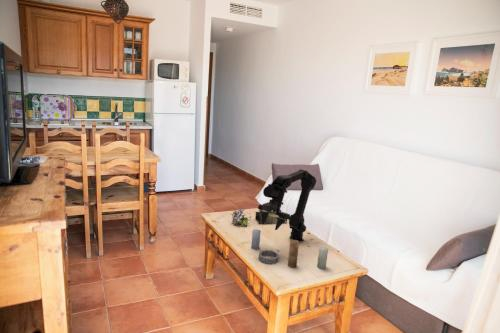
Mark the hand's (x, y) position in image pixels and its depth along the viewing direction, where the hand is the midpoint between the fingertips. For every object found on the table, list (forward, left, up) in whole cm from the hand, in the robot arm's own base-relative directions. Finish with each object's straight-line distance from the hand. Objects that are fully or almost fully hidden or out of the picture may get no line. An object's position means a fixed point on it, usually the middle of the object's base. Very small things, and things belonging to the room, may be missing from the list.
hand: (269, 227), depth 186 cm
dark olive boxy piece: (-22, -40, -15) cm, 48 cm away
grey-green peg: (-20, +23, -14) cm, 33 cm away
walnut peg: (-6, +17, -14) cm, 23 cm away
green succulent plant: (-1, -41, -14) cm, 43 cm away
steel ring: (+3, +8, -14) cm, 17 cm away
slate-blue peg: (+4, -6, -14) cm, 16 cm away
